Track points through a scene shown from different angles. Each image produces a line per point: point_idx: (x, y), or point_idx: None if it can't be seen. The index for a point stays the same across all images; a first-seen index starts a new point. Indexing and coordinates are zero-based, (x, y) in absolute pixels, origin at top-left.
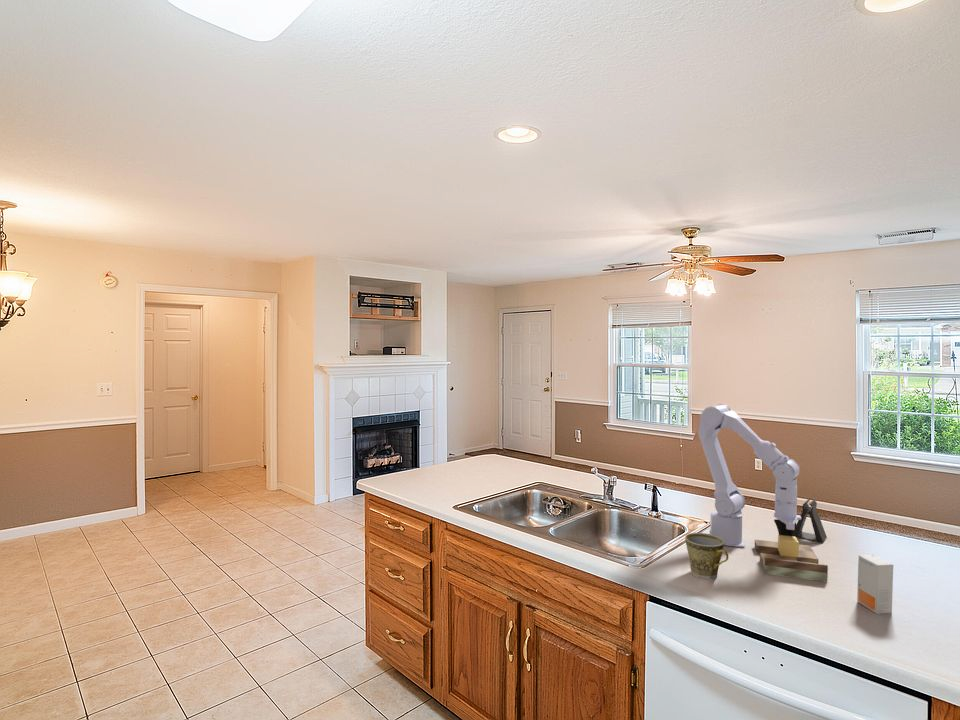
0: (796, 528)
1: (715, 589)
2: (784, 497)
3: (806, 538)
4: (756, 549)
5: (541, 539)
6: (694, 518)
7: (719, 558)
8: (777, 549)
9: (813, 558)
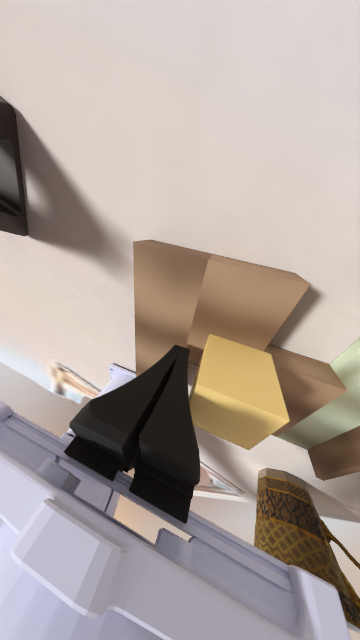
0: (198, 453)
1: (349, 503)
2: None
3: (17, 185)
4: None
5: None
6: (56, 375)
7: (331, 552)
8: None
9: (294, 304)
